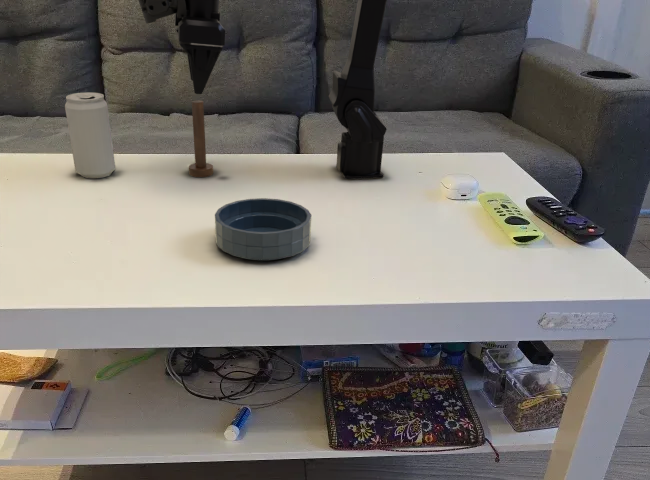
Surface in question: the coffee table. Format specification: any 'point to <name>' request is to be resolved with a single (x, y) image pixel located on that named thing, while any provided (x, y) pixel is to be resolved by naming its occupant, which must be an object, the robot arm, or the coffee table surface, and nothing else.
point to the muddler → (199, 143)
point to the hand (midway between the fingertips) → (196, 87)
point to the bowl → (262, 228)
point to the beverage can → (90, 134)
